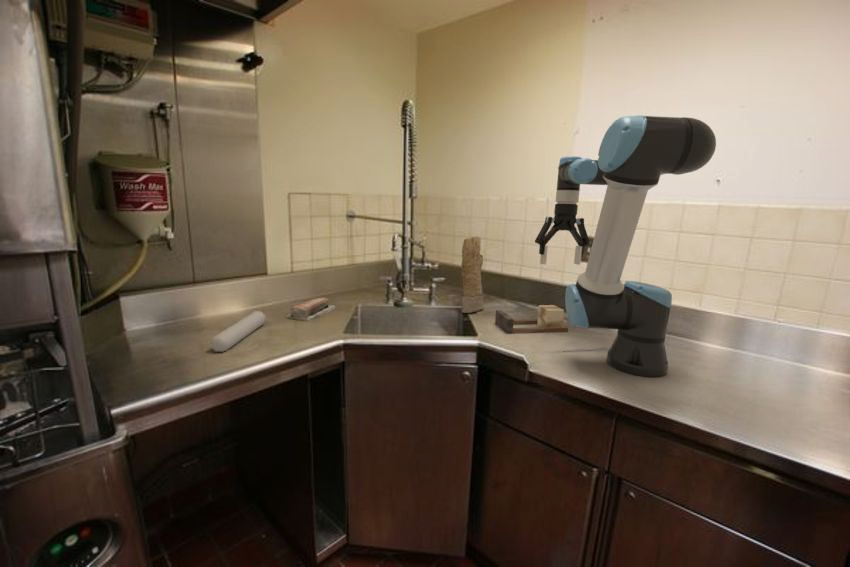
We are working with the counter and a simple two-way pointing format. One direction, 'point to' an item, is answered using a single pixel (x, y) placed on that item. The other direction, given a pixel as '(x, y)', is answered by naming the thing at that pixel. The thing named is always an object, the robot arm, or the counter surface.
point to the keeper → (550, 316)
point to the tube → (238, 331)
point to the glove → (472, 275)
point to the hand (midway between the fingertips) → (560, 264)
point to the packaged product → (310, 309)
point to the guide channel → (508, 322)
